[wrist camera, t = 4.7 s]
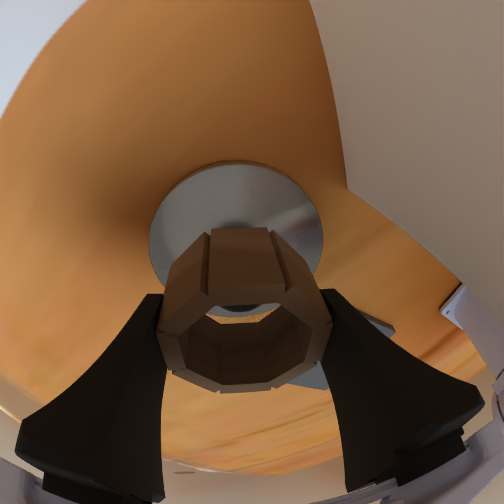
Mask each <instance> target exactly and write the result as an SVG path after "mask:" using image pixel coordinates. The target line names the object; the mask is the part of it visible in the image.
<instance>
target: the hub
mask: <svg viewBox="0 0 504 504" xmlns="http://www.w3.org/2000/svg"><path fill="white" fill-rule="evenodd" d="M251 227H267V229H268V232H270V231H272V230H274V231H275V232H276V233H277V234H278V235H279V236H281V237H282V238H283V239H284V240H285V241H286V242H287V243H288V244H289V245H290V246H291V247H292V248H293V249H294V250H295V251H296V252H297V253H298V254H299V255H300V256H301V257H303V258H304V259H305V260H306V262H307V264H308V267H309V269H310V271H311V273H312V275H313V274H314V272H315V270H316V268H317V265H318V263H319V260H320V257H321V253H322V246H323V231H322V226H321V221H320V218H319V215H318V213H317V211H316V209H315V207H314V205H313V203H312V202H311V201H310V199H309V198H308V197H307V195H306V194H305V193H304V191H303V190H302V189H301V188H300V187H299V186H298V185H297V184H296V183H295V182H294V181H293V180H292V179H291V178H289V177H288V176H287V175H285V174H284V173H282V172H280V171H278V170H276V169H274V168H272V167H269V166H267V165H264V164H260V163H256V162H251V161H239V160H236V161H223V162H218V163H213V164H210V165H207V166H204V167H202V168H199V169H197V170H195V171H193V172H191V173H190V174H188V175H187V176H185V177H184V178H182V179H181V180H180V181H179V182H178V183H177V184H175V185H174V186H173V187H172V188H171V190H170V191H169V192H168V193H167V195H166V196H165V197H164V199H163V201H162V202H161V204H160V206H159V208H158V210H157V212H156V214H155V216H154V219H153V221H152V224H151V228H150V233H149V244H148V246H149V255H150V259H151V263H152V266H153V269H154V271H155V273H156V275H157V277H158V279H159V280H160V282H161V283H162V284H163V286H164V287H166V282H167V278H168V274H169V270H170V267H171V265H172V264H173V263H174V262H175V261H176V260H177V259H178V258H179V257H180V256H181V255H182V254H183V252H184V251H185V250H186V249H187V248H188V247H189V246H190V245H191V244H192V243H193V242H194V241H195V240H196V239H197V238H198V237H199V236H200V235H201V234H202V233H203V232H204V231H205V232H206V233H207V234H209V235H210V236H211V229H216V228H251ZM278 306H280V304H279V303H270V304H252V305H230V306H215V307H213V308H212V309H211V310H210V311H208V312H207V313H206V314H210V315H215V316H222V317H245V316H251V315H256V314H260V313H263V312H266V311H269V310H271V309H274V308H276V307H278Z"/></svg>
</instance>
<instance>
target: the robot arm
mask: <svg viewBox="0 0 504 504" xmlns="http://www.w3.org/2000/svg"><path fill="white" fill-rule="evenodd" d="M320 293H321V295H322V297H323V299H324V302H325V304H326V306H327V308H328V311H329V313H330V315H331V317H332V322H333V327H332V330H331V333H330V336H329V339H328V342H327V345H326V348H325V351H324V354H323V357H322V360H321V361H320V363H321V366H322V368H323V371H324V374H325V377H326V380H327V382H328V385H329V388H330V391H331V394H332V397H333V401H334V405H335V410H336V414H337V419H338V424H339V430H340V436H341V442H342V450H343V458H344V469H345V485H346V489H347V492H348V493H349V492H353V491H356V490H359V489H362V488H365V487H368V486H371V485H373V484H376V485H374V486H371V487H368V488H366V489H362V490H359V491H356V492H353V493H350V494H346V495H343V496H339V497H335V498H332V499H328V500H323V501H319V502H315V503H310V504H368V503H371V502H374V501H377V500H379V499H382V498H383V499H382V500H381V502H380V504H469V503H470V502H471V501H473V499H474V498H476V496H477V495H479V494H480V493H481V492H482V490H484V489H485V488H486V487H487V485H489V484H490V483H491V481H492V480H493V479H495V478H496V477H497V476H498V475H499V474H500V472H502V471H503V470H504V326H503V325H502V324H501V323H500V322H499V321H498V319H497V318H496V317H495V316H494V315H493V314H492V313H491V312H490V311H489V310H488V308H487V307H486V306H485V305H484V304H483V303H482V302H481V301H480V300H479V299H478V298H477V297H476V296H475V295H474V294H473V293H472V292H471V291H470V290H469V289H468V288H467V287H466V286H465V285H464V284H463V283H462V285H461V286H460V287H459V288H458V289H457V290H456V292H455V293H454V294H453V295H452V296H451V297H450V298H449V300H448V301H447V302H446V303H445V304H444V305H443V306H442V307H441V309H440V312H441V314H442V315H443V316H445V317H446V318H448V319H449V320H450V321H452V322H453V323H454V324H456V325H457V326H458V327H460V328H461V329H462V330H463V331H464V332H465V333H466V334H467V336H468V337H469V339H470V340H471V342H472V343H473V345H474V346H475V348H476V349H477V350H478V352H479V353H480V355H481V357H482V358H483V360H484V361H485V363H486V364H487V366H488V367H489V369H490V371H491V372H492V374H493V376H494V377H495V379H496V382H495V383H494V384H493V385H492V387H493V389H494V393H493V396H492V415H493V418H494V419H493V420H492V421H491V422H489V423H488V424H487V425H486V426H484V427H483V428H481V429H480V430H478V431H477V432H476V433H474V434H473V435H472V436H470V437H469V438H468V439H467V440H466V441H464V442H463V441H462V438H461V436H462V435H463V434H464V431H463V428H462V426H463V425H464V424H466V423H467V422H468V421H469V420H470V419H471V418H473V417H474V416H475V415H476V414H477V413H478V412H479V411H480V410H481V409H482V408H483V407H484V405H485V402H484V400H483V398H482V396H481V394H480V392H479V390H478V389H477V387H476V386H475V385H472V384H470V383H467V382H464V381H462V380H459V379H456V378H454V377H452V376H449V375H447V374H445V373H443V372H441V371H439V370H437V369H435V368H433V367H431V366H429V365H428V364H426V363H424V362H423V361H421V360H419V359H418V358H416V357H414V356H413V355H411V354H410V353H408V352H407V351H406V350H404V349H403V348H401V347H400V346H398V345H397V344H396V343H394V342H393V341H392V340H391V339H389V338H388V337H387V336H386V335H384V334H383V333H382V332H381V331H380V330H378V329H377V328H376V327H375V326H374V325H373V324H372V323H370V322H369V321H368V320H367V319H366V318H365V317H364V316H363V315H362V314H361V313H360V312H359V311H357V310H356V309H355V308H354V307H353V306H352V305H351V304H350V303H349V302H348V301H347V300H346V299H345V298H344V297H343V296H342V295H341V294H340V293H338V292H337V291H336V290H335V289H320ZM163 298H164V296H163V294H147V295H146V296H145V297H144V299H143V300H142V302H141V303H140V305H139V306H138V308H137V309H136V310H135V312H134V313H133V315H132V316H131V317H130V319H129V320H128V322H127V323H126V324H125V326H124V327H123V328H122V330H121V331H120V332H119V334H118V335H117V336H116V338H115V339H114V340H113V341H112V342H111V344H110V345H109V346H108V347H107V349H106V350H105V351H104V352H103V353H102V355H101V356H100V357H99V358H98V359H97V360H96V361H95V362H94V363H93V365H92V366H91V367H90V368H89V369H88V370H87V371H86V372H85V373H84V374H83V375H82V376H81V377H80V378H79V379H77V380H76V381H75V382H74V383H73V384H72V385H71V386H70V387H69V388H68V389H66V390H65V391H64V392H63V393H61V394H60V395H59V396H58V397H56V398H55V399H54V400H52V401H51V402H50V403H48V404H47V405H45V406H44V407H43V408H41V409H39V410H38V411H37V412H35V413H33V414H32V415H30V416H29V417H27V418H25V419H23V420H22V423H21V427H20V430H19V434H18V438H17V442H16V447H15V453H16V455H17V456H18V457H19V458H21V459H22V460H24V461H26V462H27V463H29V464H30V465H32V466H34V467H36V468H37V469H39V470H41V471H43V472H44V478H43V479H41V478H38V477H36V476H34V475H33V474H32V473H30V472H28V471H26V470H24V469H22V468H20V467H18V466H16V465H14V464H12V463H10V462H8V461H7V460H5V459H3V458H1V457H0V504H152V502H156V503H159V502H161V501H162V500H163V499H164V498H165V492H164V483H163V473H162V459H161V407H162V398H163V392H164V385H165V379H166V373H167V365H166V362H165V360H164V357H163V354H162V351H161V348H160V345H159V342H158V338H157V335H156V330H157V325H158V321H159V317H160V312H161V307H162V302H163Z"/></svg>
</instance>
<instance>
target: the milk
mask: <svg viewBox="0 0 504 504" xmlns="http://www.w3.org/2000/svg"><path fill="white" fill-rule="evenodd" d="M309 1H310V4H311V8H312V11H313V14H314V17H315V21H316V24H317V28H318V31H319V35H320V38H321V42H322V46H323V50H324V54H325V58H326V62H327V66H328V71H329V75H330V80H331V84H332V89H333V94H334V99H335V105H336V110H337V116H338V122H339V128H340V134H341V141H342V148H343V155H344V163H345V171H346V180H347V189H348V190H349V191H351V192H352V193H354V194H355V195H356V196H358V197H359V198H361V199H362V200H363V201H365V202H366V203H368V204H369V205H370V206H372V207H373V208H374V209H376V210H377V211H378V212H380V213H381V214H382V215H384V216H385V217H386V218H388V219H389V220H390V221H391V222H393V223H394V224H395V225H396V226H398V227H399V228H400V229H402V230H403V231H404V232H405V233H406V234H408V235H409V236H410V237H411V238H413V239H414V240H415V241H416V242H417V243H419V244H420V245H421V246H422V247H423V248H424V249H426V250H427V251H428V252H429V253H430V254H431V255H433V256H434V257H435V258H436V259H437V260H438V261H439V262H440V263H442V264H443V265H444V266H445V267H446V268H447V269H448V270H449V271H450V272H451V273H452V274H453V275H455V276H456V277H457V278H458V279H459V280H460V281H461V282H462V283H463V284H464V285H465V286H466V287H467V288H468V289H469V290H470V291H471V292H472V293H473V294H474V295H475V296H476V297H477V298H478V299H479V300H480V301H481V302H482V303H483V304H484V305H485V306H486V307H487V308H488V310H489V311H490V312H491V313H492V314H493V315H494V316H495V317H496V318H497V319H498V321H499V322H500V323H501V324H502V325H503V326H504V0H309Z"/></svg>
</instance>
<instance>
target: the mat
mask: <svg viewBox="0 0 504 504" xmlns="http://www.w3.org/2000/svg"><path fill="white" fill-rule="evenodd" d="M357 311H358V310H357ZM359 312H360V311H359ZM360 313H361V314H362V315H363V316H364V317H365V318H366V319H367V320H368V321H369V322H370V323H372V324H373V325H374V326H375V327H376V328H377V329H378V330H380V331H381V332H382V333H383V334H384V335H386V336H387V337H388V338H390V337H391V336H392V335H393V334H394V333H395V332H396V331H395V330H394V328H393V327H392V326H390V325H388V324H386V323H384V322H381V321H379V320H377V319H375V318H373V317H371V316H368V315H366V314H364V313H362V312H360ZM288 384H293V385H298V386H304V387H309V388H315V389H321V390H327V389H328V388H329V385H328V382H327V380H326V377H325V374H324V371H323V368H322V366H321V363H320V361H318V362H317V366H315V367H313V368H312V369H310V370H308V371H307V372H305V373H303V374H302V375H300V376H298V377H296V378H295V379H293V380H291V381H289V382H288Z"/></svg>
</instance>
